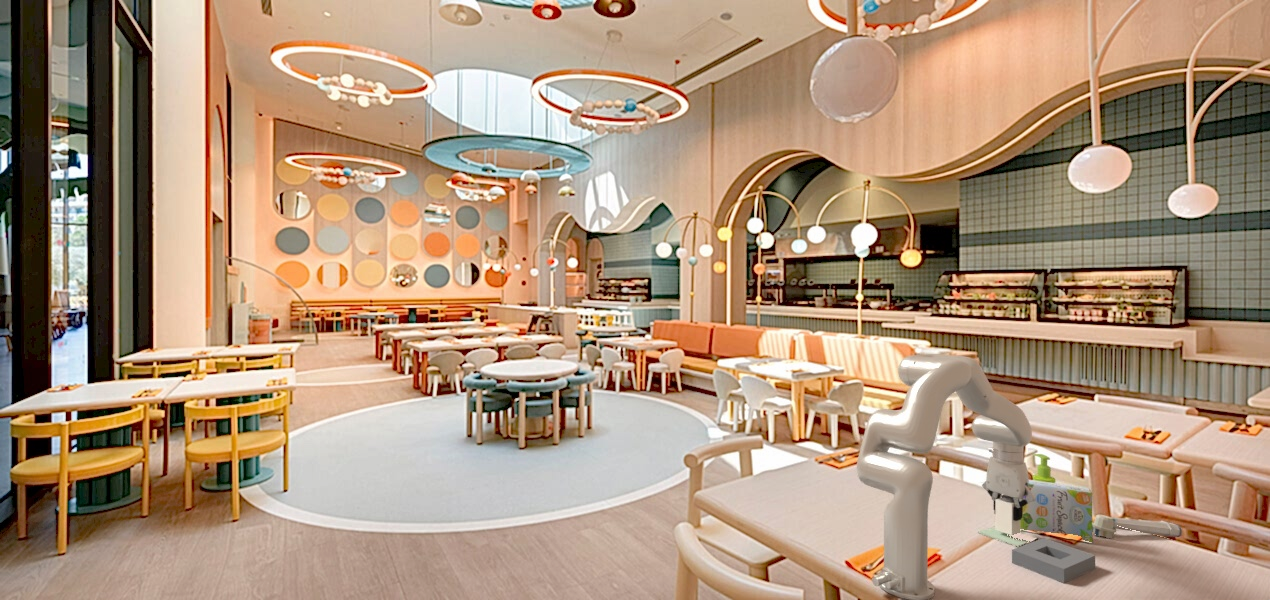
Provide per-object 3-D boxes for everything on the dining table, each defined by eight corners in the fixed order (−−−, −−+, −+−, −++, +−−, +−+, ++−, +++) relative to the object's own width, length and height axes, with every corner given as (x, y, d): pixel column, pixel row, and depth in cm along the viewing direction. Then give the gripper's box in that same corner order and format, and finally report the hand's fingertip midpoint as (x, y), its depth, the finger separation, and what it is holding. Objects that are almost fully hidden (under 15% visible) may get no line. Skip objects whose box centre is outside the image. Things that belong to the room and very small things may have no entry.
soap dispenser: (1045, 513, 182) (1045, 453, 182) (1059, 521, 175) (1059, 458, 175) (1026, 512, 183) (1026, 452, 183) (1039, 520, 176) (1040, 458, 176)
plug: (1011, 535, 161) (1011, 500, 161) (995, 529, 165) (995, 495, 165) (1020, 532, 163) (1020, 497, 163) (1003, 526, 167) (1004, 493, 167)
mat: (1017, 547, 157) (1017, 545, 157) (978, 532, 166) (978, 531, 166) (1038, 539, 162) (1038, 538, 162) (998, 526, 172) (998, 524, 172)
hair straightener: (1185, 526, 163) (1102, 514, 163) (1182, 549, 163) (1099, 537, 163) (1168, 519, 168) (1087, 508, 168) (1165, 541, 168) (1084, 530, 168)
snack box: (1089, 538, 164) (1089, 487, 164) (1092, 545, 159) (1092, 492, 159) (1003, 522, 175) (1003, 474, 175) (1004, 528, 170) (1004, 479, 170)
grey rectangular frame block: (1063, 583, 137) (1064, 569, 137) (1011, 562, 147) (1012, 549, 147) (1095, 568, 144) (1095, 555, 144) (1043, 550, 155) (1043, 537, 155)
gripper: (971, 450, 170) (971, 509, 170) (1032, 464, 155) (1032, 529, 155) (986, 447, 173) (985, 505, 173) (1046, 461, 159) (1046, 524, 159)
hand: (1007, 516), depth 164 cm, fingers closed on plug, 4 cm apart
